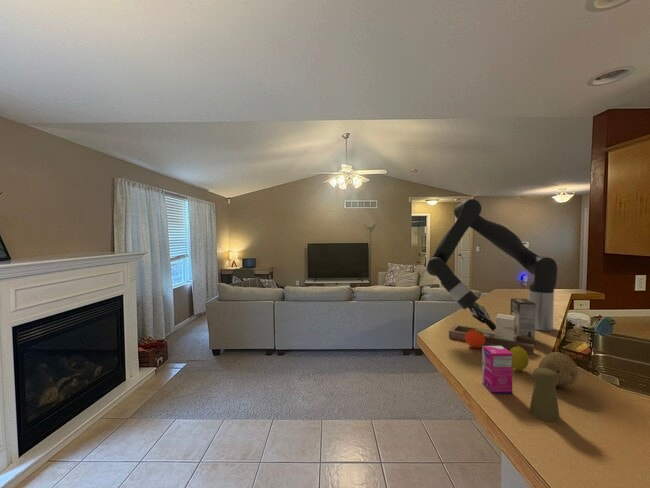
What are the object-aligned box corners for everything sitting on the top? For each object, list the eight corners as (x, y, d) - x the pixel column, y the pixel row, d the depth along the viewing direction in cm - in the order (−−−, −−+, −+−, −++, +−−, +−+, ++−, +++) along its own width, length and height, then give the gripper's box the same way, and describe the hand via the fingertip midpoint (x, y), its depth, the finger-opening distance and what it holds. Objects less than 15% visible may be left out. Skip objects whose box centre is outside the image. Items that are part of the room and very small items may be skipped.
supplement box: (481, 383, 89) (481, 345, 89) (501, 383, 89) (502, 345, 89) (491, 394, 83) (492, 353, 83) (513, 394, 83) (514, 353, 83)
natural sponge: (580, 399, 81) (581, 362, 80) (539, 390, 85) (540, 355, 85) (575, 384, 88) (575, 351, 88) (537, 377, 93) (538, 345, 93)
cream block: (497, 333, 125) (497, 313, 125) (514, 336, 121) (515, 316, 121) (495, 337, 120) (495, 317, 120) (513, 340, 116) (513, 319, 116)
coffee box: (509, 334, 132) (509, 297, 132) (525, 335, 131) (526, 298, 130) (518, 341, 123) (518, 302, 123) (535, 342, 122) (536, 303, 121)
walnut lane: (455, 331, 137) (455, 324, 137) (534, 345, 120) (534, 337, 120) (448, 337, 128) (448, 330, 128) (533, 354, 111) (533, 345, 111)
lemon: (525, 368, 99) (525, 344, 99) (530, 375, 94) (531, 350, 94) (506, 365, 101) (506, 342, 101) (510, 373, 96) (510, 348, 96)
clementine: (490, 347, 117) (490, 329, 117) (485, 353, 112) (485, 333, 112) (468, 342, 123) (468, 325, 122) (462, 347, 117) (462, 329, 117)
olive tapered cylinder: (523, 407, 77) (524, 365, 76) (545, 406, 77) (546, 364, 77) (542, 422, 71) (543, 376, 70) (566, 421, 71) (567, 375, 71)
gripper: (466, 292, 123) (500, 328, 116) (473, 287, 133) (504, 319, 126) (452, 303, 126) (485, 338, 119) (459, 298, 137) (490, 330, 130)
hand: (495, 329), depth 123 cm, fingers closed
